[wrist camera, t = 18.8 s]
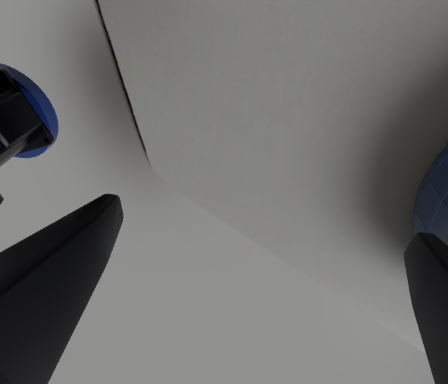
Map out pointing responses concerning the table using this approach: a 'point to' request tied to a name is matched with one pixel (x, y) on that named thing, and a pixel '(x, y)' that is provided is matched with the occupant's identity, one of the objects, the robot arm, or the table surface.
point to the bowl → (433, 200)
